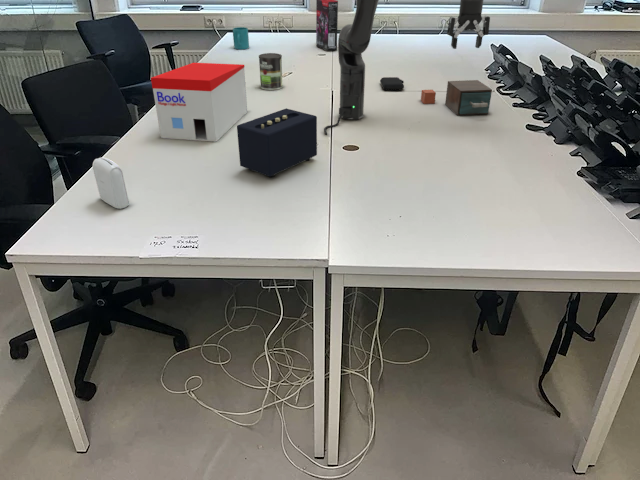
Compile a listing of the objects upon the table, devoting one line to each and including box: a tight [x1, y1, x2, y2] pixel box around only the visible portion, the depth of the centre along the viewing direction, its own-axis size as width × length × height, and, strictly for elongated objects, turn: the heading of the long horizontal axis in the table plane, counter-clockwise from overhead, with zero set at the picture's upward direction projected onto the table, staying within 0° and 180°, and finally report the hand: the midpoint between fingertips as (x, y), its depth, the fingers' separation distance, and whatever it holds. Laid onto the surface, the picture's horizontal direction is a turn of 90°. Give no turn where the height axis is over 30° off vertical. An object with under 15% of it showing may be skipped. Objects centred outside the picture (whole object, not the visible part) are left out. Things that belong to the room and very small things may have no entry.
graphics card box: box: [315, 0, 339, 52], centre depth 310 cm, size 17×7×27 cm, turn 25°
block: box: [420, 89, 437, 105], centre depth 221 cm, size 5×5×5 cm
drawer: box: [459, 92, 492, 114], centre depth 207 cm, size 18×11×8 cm, turn 7°
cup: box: [232, 26, 250, 51], centre depth 315 cm, size 9×12×11 cm
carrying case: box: [379, 76, 405, 91], centre depth 242 cm, size 11×3×15 cm
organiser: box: [444, 79, 493, 116], centre depth 211 cm, size 15×13×10 cm
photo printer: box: [92, 157, 130, 210], centre depth 140 cm, size 10×4×12 cm, turn 47°
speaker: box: [236, 108, 318, 178], centre depth 161 cm, size 22×13×15 cm, turn 141°
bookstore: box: [150, 62, 248, 143], centre depth 193 cm, size 21×35×21 cm, turn 169°
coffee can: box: [258, 52, 284, 91], centre depth 239 cm, size 10×10×14 cm
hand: (465, 48), depth 188 cm, fingers open, 8 cm apart
